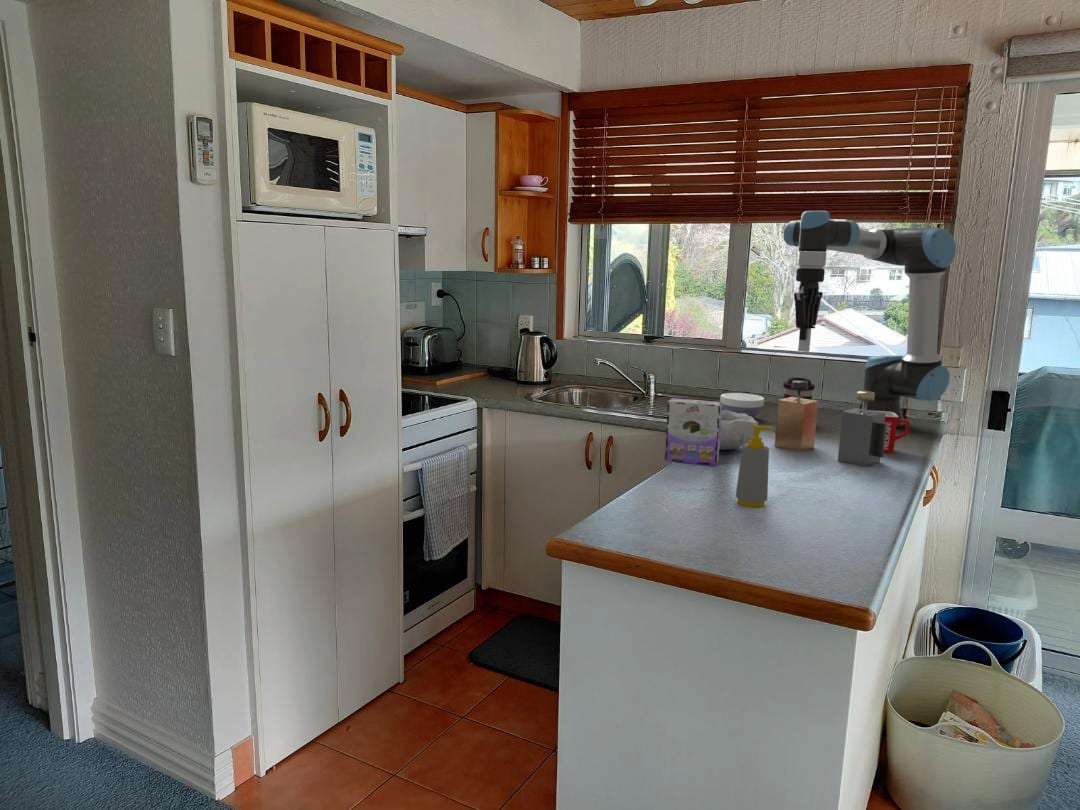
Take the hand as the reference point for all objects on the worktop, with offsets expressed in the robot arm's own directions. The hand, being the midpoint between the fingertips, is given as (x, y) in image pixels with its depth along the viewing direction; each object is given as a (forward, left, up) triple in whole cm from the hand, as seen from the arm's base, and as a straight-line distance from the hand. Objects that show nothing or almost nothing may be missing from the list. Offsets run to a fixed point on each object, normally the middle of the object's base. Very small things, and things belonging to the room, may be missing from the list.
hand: (803, 351), depth 229 cm
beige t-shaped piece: (+2, +20, -26) cm, 33 cm away
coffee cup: (-32, -16, -28) cm, 45 cm away
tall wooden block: (0, 0, -28) cm, 28 cm away
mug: (-18, +19, -28) cm, 38 cm away
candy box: (+38, -10, -28) cm, 49 cm away
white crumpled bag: (+19, -13, -28) cm, 37 cm away
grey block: (+2, +20, -28) cm, 35 cm away
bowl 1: (-24, -32, -28) cm, 49 cm away
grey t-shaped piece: (0, 0, -26) cm, 26 cm away
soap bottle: (+59, +20, -28) cm, 69 cm away
